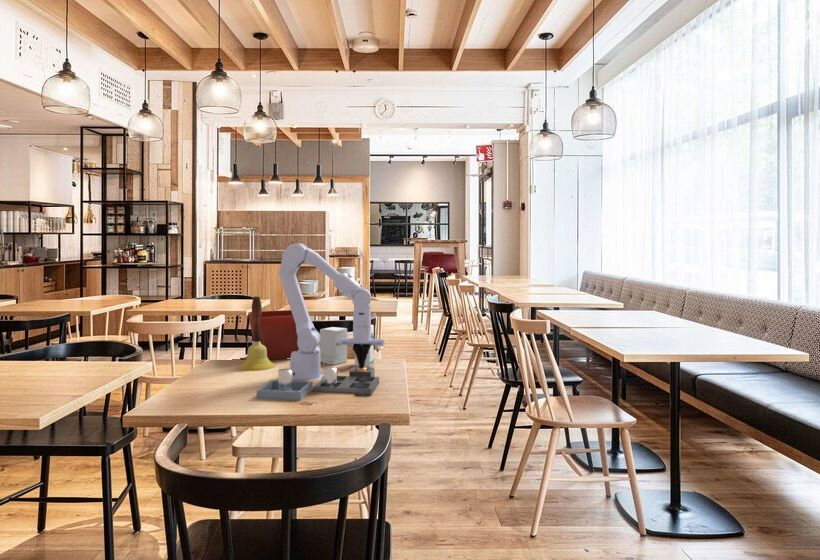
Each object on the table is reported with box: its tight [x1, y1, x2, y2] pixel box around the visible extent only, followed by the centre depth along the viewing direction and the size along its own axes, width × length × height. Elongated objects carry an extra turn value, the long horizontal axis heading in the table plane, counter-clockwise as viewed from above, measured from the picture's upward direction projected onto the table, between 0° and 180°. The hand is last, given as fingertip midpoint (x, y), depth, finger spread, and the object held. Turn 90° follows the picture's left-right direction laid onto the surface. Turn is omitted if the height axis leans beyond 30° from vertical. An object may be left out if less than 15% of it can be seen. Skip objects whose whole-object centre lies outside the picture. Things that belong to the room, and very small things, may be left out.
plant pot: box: [247, 309, 299, 361], centre depth 232 cm, size 19×19×17 cm
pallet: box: [313, 375, 380, 396], centre depth 184 cm, size 17×15×2 cm
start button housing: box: [348, 366, 375, 377], centre depth 197 cm, size 7×7×3 cm
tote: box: [256, 379, 314, 402], centre depth 175 cm, size 13×13×3 cm
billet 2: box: [322, 366, 338, 387], centre depth 181 cm, size 4×4×7 cm
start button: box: [357, 366, 367, 371], centre depth 197 cm, size 3×3×3 cm
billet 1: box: [277, 368, 294, 391], centre depth 175 cm, size 4×4×7 cm
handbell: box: [239, 296, 276, 372], centre depth 213 cm, size 12×12×25 cm
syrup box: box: [354, 324, 375, 367], centre depth 218 cm, size 6×6×14 cm
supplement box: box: [319, 326, 348, 366], centre depth 222 cm, size 7×7×13 cm
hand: (361, 367), depth 197 cm, fingers closed
